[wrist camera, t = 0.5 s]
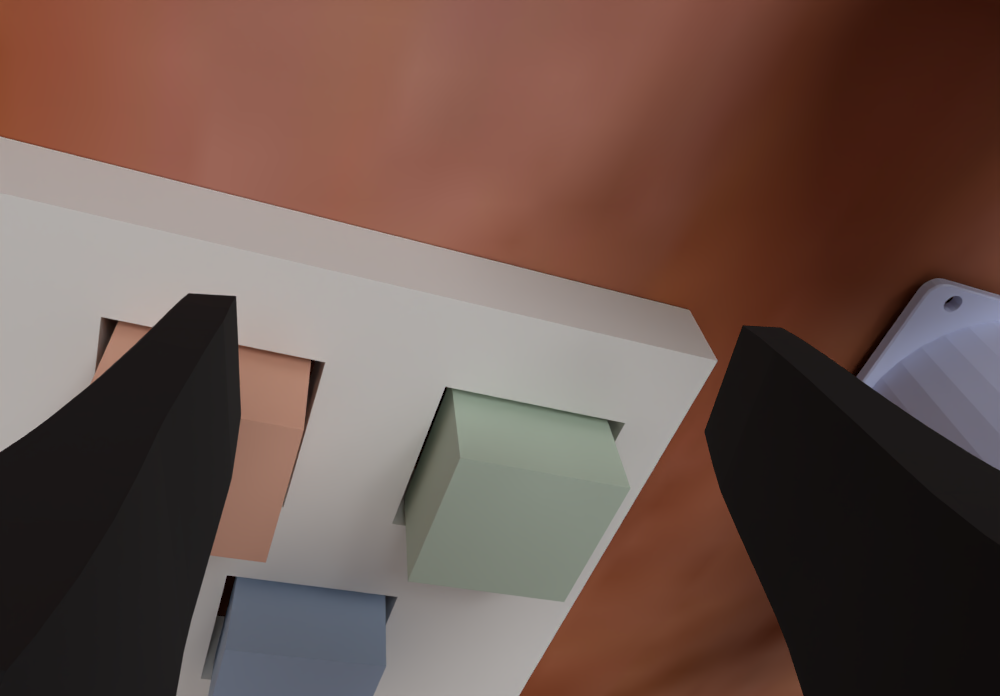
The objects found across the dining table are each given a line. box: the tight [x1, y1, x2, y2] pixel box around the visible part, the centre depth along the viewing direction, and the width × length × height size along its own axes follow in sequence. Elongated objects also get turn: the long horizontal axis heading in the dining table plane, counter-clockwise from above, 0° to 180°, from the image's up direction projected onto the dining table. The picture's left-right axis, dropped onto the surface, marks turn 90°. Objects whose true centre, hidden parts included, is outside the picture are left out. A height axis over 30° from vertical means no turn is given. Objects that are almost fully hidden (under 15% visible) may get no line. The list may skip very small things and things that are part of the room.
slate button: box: [208, 577, 386, 696], centre depth 25 cm, size 4×4×3 cm
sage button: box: [405, 387, 631, 602], centre depth 22 cm, size 4×4×3 cm
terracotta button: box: [91, 321, 311, 563], centre depth 20 cm, size 4×4×3 cm
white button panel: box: [0, 137, 717, 696], centre depth 25 cm, size 18×18×2 cm
